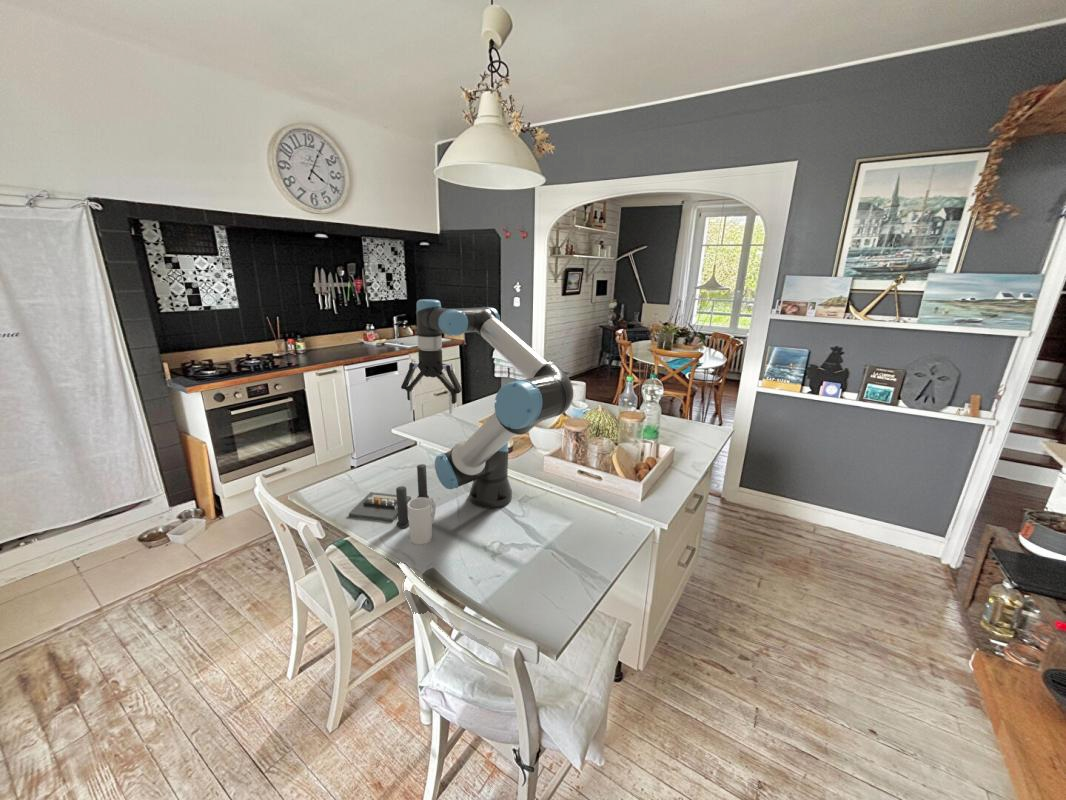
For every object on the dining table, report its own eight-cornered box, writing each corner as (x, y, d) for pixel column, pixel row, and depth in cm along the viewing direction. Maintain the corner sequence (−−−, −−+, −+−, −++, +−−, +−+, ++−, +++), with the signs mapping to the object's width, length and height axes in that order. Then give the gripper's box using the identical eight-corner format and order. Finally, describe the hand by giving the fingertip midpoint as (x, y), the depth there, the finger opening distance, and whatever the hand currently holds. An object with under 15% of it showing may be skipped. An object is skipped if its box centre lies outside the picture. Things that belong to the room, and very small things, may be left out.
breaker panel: (411, 499, 148) (410, 491, 147) (392, 521, 134) (392, 512, 133) (370, 495, 150) (370, 487, 149) (348, 516, 136) (348, 507, 135)
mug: (421, 548, 122) (420, 511, 119) (404, 540, 125) (402, 505, 122) (444, 530, 131) (443, 496, 127) (427, 524, 134) (426, 490, 130)
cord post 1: (412, 522, 135) (410, 486, 131) (406, 529, 131) (404, 492, 127) (400, 520, 135) (397, 484, 131) (394, 527, 131) (392, 491, 128)
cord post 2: (430, 496, 150) (429, 464, 146) (426, 502, 146) (424, 469, 142) (419, 495, 150) (418, 463, 147) (415, 501, 147) (413, 468, 143)
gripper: (470, 349, 138) (471, 410, 144) (398, 344, 141) (402, 404, 147) (464, 353, 131) (464, 417, 137) (388, 348, 134) (392, 411, 140)
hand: (432, 411), depth 142 cm, fingers open, 13 cm apart
